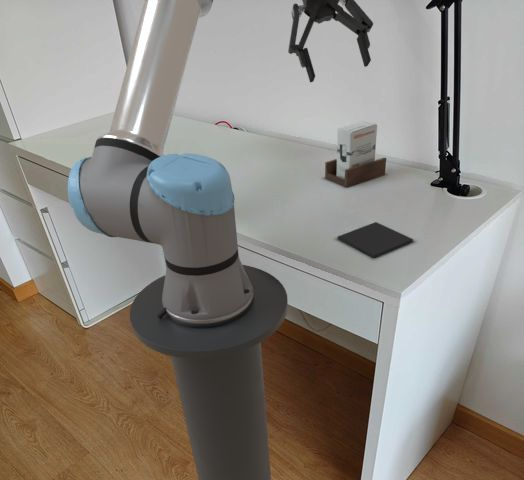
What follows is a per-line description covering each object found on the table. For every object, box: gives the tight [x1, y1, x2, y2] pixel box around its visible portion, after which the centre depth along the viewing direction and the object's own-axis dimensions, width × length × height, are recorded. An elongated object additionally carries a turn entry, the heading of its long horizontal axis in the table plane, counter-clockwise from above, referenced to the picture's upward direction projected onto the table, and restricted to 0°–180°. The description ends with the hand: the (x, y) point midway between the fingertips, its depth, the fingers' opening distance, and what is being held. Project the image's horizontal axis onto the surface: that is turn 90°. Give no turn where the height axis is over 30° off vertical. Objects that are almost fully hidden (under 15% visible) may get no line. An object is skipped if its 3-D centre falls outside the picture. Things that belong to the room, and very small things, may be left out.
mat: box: [337, 221, 414, 259], centre depth 95 cm, size 10×10×1 cm
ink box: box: [336, 120, 378, 179], centre depth 119 cm, size 9×5×12 cm, turn 126°
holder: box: [324, 157, 387, 188], centre depth 121 cm, size 12×8×4 cm, turn 124°
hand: (340, 71), depth 115 cm, fingers open, 13 cm apart
